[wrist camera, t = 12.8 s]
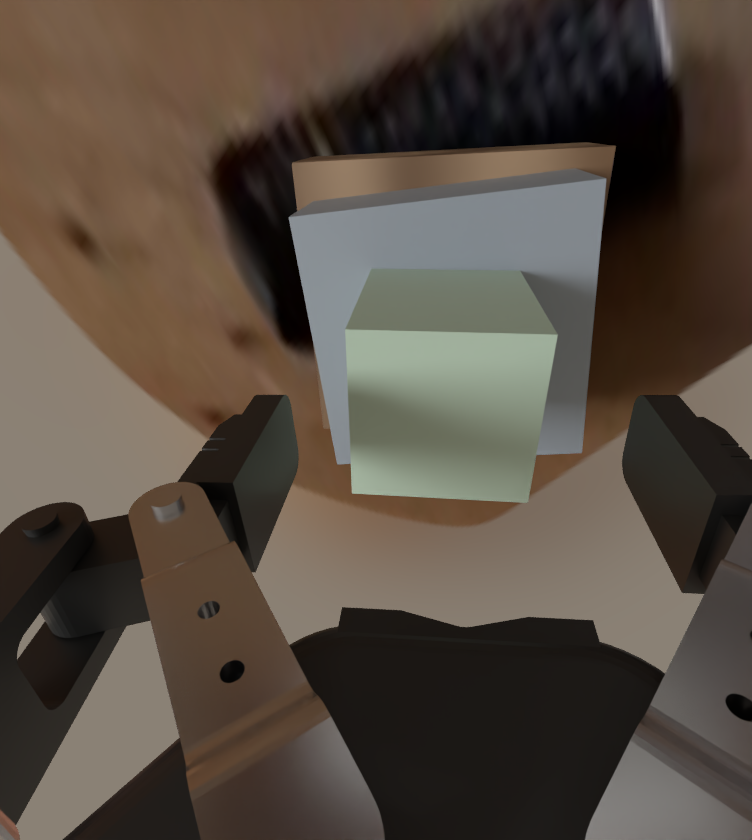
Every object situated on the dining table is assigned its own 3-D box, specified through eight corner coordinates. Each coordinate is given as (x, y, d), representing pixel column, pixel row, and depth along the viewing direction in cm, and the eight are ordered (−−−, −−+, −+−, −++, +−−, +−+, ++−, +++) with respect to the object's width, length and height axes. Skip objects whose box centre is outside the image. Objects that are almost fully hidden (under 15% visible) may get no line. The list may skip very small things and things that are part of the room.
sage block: (519, 270, 17) (557, 334, 12) (502, 402, 19) (527, 502, 14) (371, 268, 17) (344, 329, 12) (373, 397, 20) (351, 493, 15)
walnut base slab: (584, 141, 22) (615, 145, 18) (550, 387, 28) (569, 430, 24) (315, 156, 24) (291, 163, 20) (337, 388, 30) (323, 428, 26)
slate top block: (575, 168, 19) (606, 178, 15) (560, 405, 24) (581, 453, 20) (313, 201, 20) (288, 217, 17) (350, 417, 25) (337, 464, 22)
